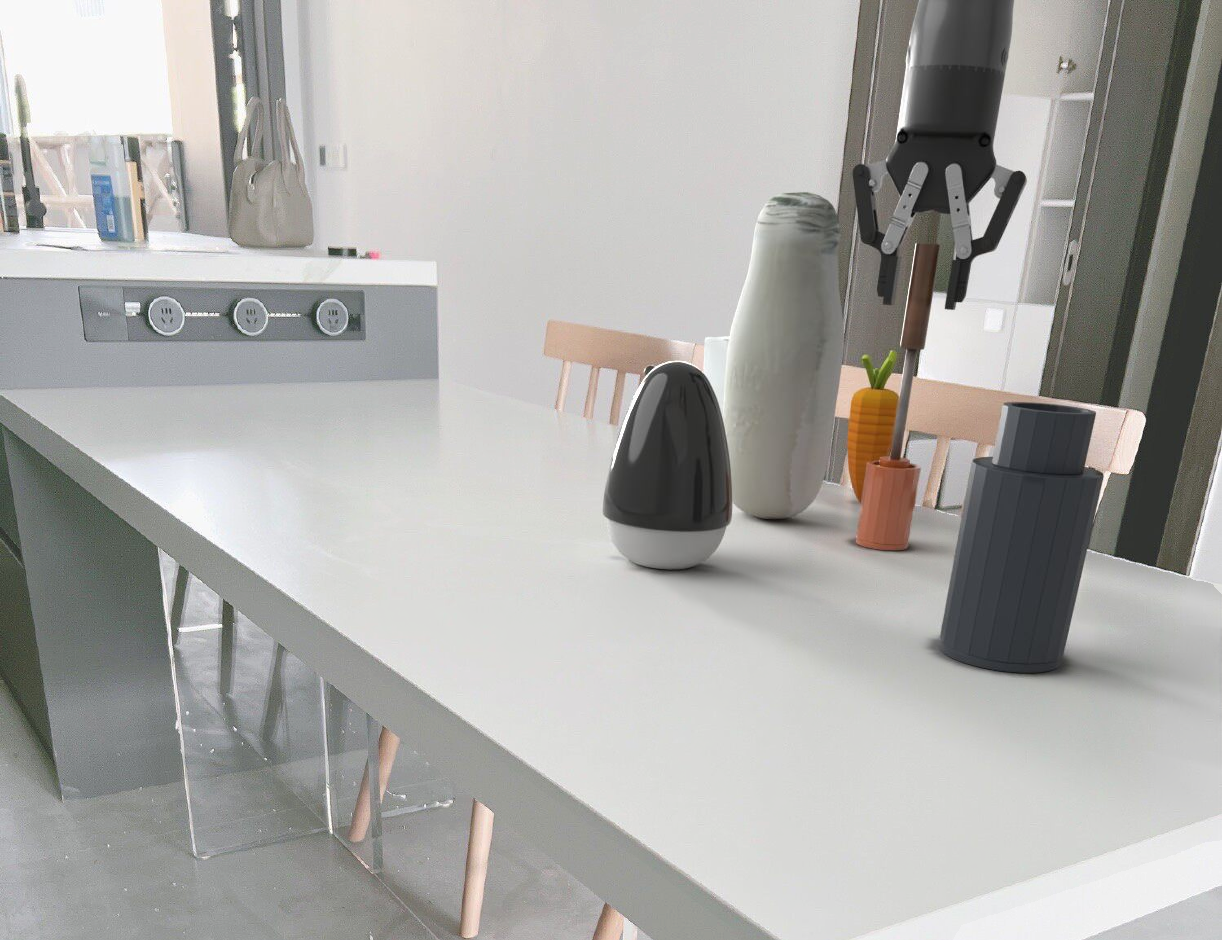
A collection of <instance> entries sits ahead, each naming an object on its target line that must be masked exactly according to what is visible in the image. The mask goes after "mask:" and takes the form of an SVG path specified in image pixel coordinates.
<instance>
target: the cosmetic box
mask: <svg viewBox="0 0 1222 940" xmlns="http://www.w3.org/2000/svg"><path fill="white" fill-rule="evenodd" d="M729 336H730V335H728V336H706V337H705V338H704V350H703V351H704V352H703V370H702V372H703V373H704V374H705V375H706V377H707V378H708V380H709V382H710V384H711V386H712V388H713V390H714V392H715V395H716V397H717V400H718V403H719V406H720V410H721V414H722V417H723V406H724V388H725V374H726V360H727V350H728V343H729Z"/></svg>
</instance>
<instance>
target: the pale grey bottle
mask: <svg viewBox="0 0 1222 940" xmlns="http://www.w3.org/2000/svg"><path fill="white" fill-rule="evenodd" d="M753 233H754V234H753V239H752V248H751V254H750V261H749V264H748V270H747V275H746V278H745V281H744V284H743V287H742V290H741V293H740V296H739V300H738V302H737V307H736V309H735V313H734V316H733V321H732V324H731V327H730V331H729V335H728V336H729V343H728V350H727V360H726V374H725V388H724V406H723V422H724V427H725V432H726V438H727V444H728V450H729V457H730V466H731V479H732V505H733V506H735V507H736V508H737V509H739V511H741V512H743V513H746V514H748V515H749V516H752V517H755V518H759V519H766V520H782V519H787V518H792V517H796V516H798V515H800V514H801V513H803V512H804V511H806V510H807V509H808V508H809V507H810V506H811V505H812V504H813V502H814V501H815V500H816V498H817V496H818V495H819V492H820V490H821V488H822V485H823V483H824V480H825V477H826V473H827V469H828V464H829V459H830V458H829V457H830V450H831V444H832V435H833V430H834V423H835V422H834V421H835V417H836V415H835V414H836V409H837V401H838V395H839V389H840V383H841V382H840V381H841V374H842V367H843V359H844V348H845V329H844V318H843V310H842V301H841V295H840V278H839V277H840V275H839V255H838V254H839V246H840V238H841V237H840V236H841V226H840V219H839V216H838V214H837V211H836V208H835V207H834V205H833V203H832V202H830V200H828V199H826V198H825V197H822V196H821V195H819V194H815V193H813V192H808V191H803V192H801V191H799V192H782V193H779V194H777V195H775V196H773V197H771V198H770V199H769V200H768V201H767V202H766V203H765V205H764V206H763V207H762V209H761V210H760V213H759V214H758V217H757V221H756V223H755V227H754V232H753Z"/></svg>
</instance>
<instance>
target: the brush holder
mask: <svg viewBox="0 0 1222 940" xmlns="http://www.w3.org/2000/svg"><path fill="white" fill-rule="evenodd" d="M921 470H922V466H920V465H919V464H915V463H912V462H910V464H909V468H892V467H885V466H879V460H873V461H868V462H867V466H866V473H865V480H864V487H863V493H862V500H861V503H860V507H859V515H858V522H857V527H856V535H855V536H856V538H855V543H856V544H857V545H859V546H861V547H863V548H869V549H873V550H879V551H903V550H906V549H908V548H909V542H910V538H911V532H912V526H913V519H914V514H915V508H916V501H917V495H918V490H919V489H918V488H919V483H920V478H921Z"/></svg>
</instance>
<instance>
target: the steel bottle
mask: <svg viewBox="0 0 1222 940" xmlns="http://www.w3.org/2000/svg"><path fill="white" fill-rule="evenodd" d="M1096 416H1097V412H1096V411H1095V410H1091V409H1088V408H1084V407H1078V406H1072V405H1063V404H1054V403H1045V402H1031V401H1029V402H1028V401H1007V402H1003V404H1002V406H1001V412H1000V417H999V422H998V426H997V434H996V438H995V443H994V447H993V454H992V456H980V457H976V458H973V459H972V461H971V462H970V469H969V473H968V479H967V485H966V490H965V495H964V501H963V502H964V503H963V508H962V511H961V518H960V524H959V530H958V534H957V540H956V545H955V553H954V557H953V563H952V567H951V574H950V580H949V585H948V589H947V595H946V601H945V606H944V613H943V616H942V617H943V618H942V623H941V628H940V633H939V643H938V648H939V650H940V652H942V653H943V654H944V655H946V656H947V657H949V658H951V659H953V660H956V661H958V662H960V663H964V664H967V665H971V666H974V667H977V668H982V669H986V670H993V671H999V672H1007V673H1016V674H1017V673H1018V674H1019V673H1021V674H1033V673H1034V674H1035V673H1036V674H1037V673H1045V672H1050V671H1053V670H1056V669H1058V668H1060V666H1061V665H1062V661H1063V657H1064V654H1065V650H1066V645H1067V642H1068V636H1069V633H1070V628H1071V624H1072V620H1073V614H1074V610H1075V605H1076V601H1077V597H1078V592H1079V587H1080V583H1081V579H1082V575H1083V571H1084V566H1085V561H1086V558H1087V557H1086V556H1087V553H1088V548H1089V544H1090V539H1091V536H1092V535H1091V534H1092V530H1093V526H1094V523H1095V516H1096V513H1097V508H1098V504H1099V501H1100V500H1099V499H1100V495H1101V491H1102V487H1103V482H1104V477H1105V474H1104V473H1103V472H1102V471H1099V470H1098V469H1095V468H1092V467H1088V466H1086V462H1087V457H1088V452H1089V448H1090V443H1091V438H1092V434H1093V430H1094V427H1095V420H1096Z"/></svg>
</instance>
